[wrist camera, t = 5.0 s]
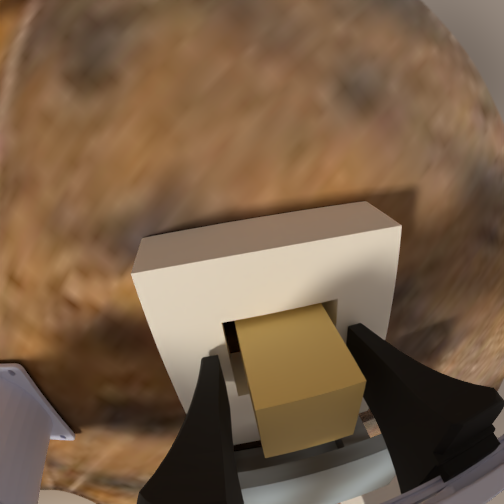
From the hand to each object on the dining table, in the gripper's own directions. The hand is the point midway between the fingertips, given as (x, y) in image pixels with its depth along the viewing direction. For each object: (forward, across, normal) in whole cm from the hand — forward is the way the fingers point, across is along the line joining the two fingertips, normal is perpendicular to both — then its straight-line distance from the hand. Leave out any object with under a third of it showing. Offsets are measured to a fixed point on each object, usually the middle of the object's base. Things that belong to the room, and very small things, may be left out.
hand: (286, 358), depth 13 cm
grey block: (+3, 0, +10) cm, 11 cm away
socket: (+3, 0, +1) cm, 3 cm away
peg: (+3, 0, 0) cm, 3 cm away
